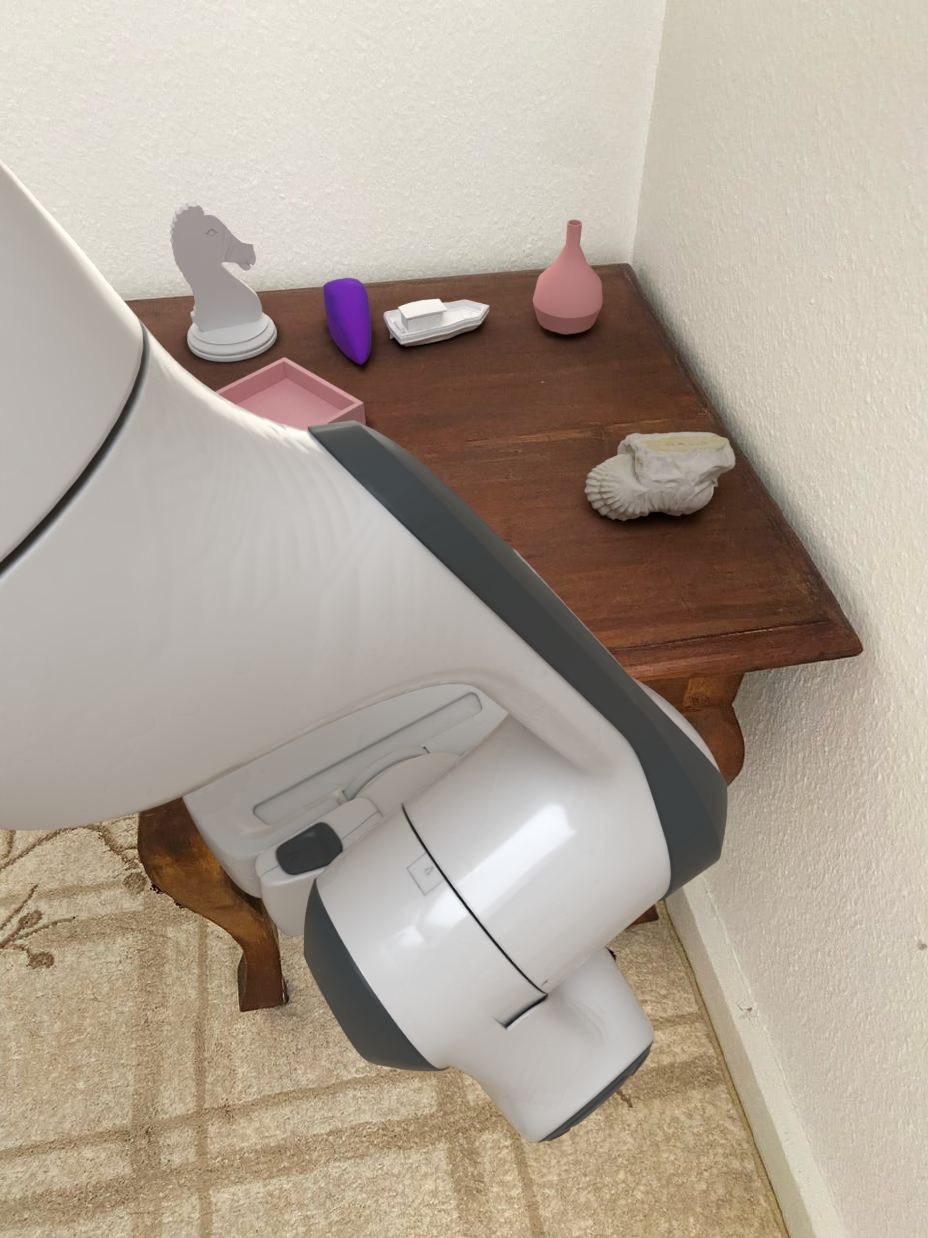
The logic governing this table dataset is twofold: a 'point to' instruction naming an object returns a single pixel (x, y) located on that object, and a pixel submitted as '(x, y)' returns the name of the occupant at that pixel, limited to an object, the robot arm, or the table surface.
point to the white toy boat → (433, 320)
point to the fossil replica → (659, 474)
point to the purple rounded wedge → (349, 317)
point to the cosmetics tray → (293, 397)
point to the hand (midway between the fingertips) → (304, 667)
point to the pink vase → (568, 289)
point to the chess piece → (219, 288)
